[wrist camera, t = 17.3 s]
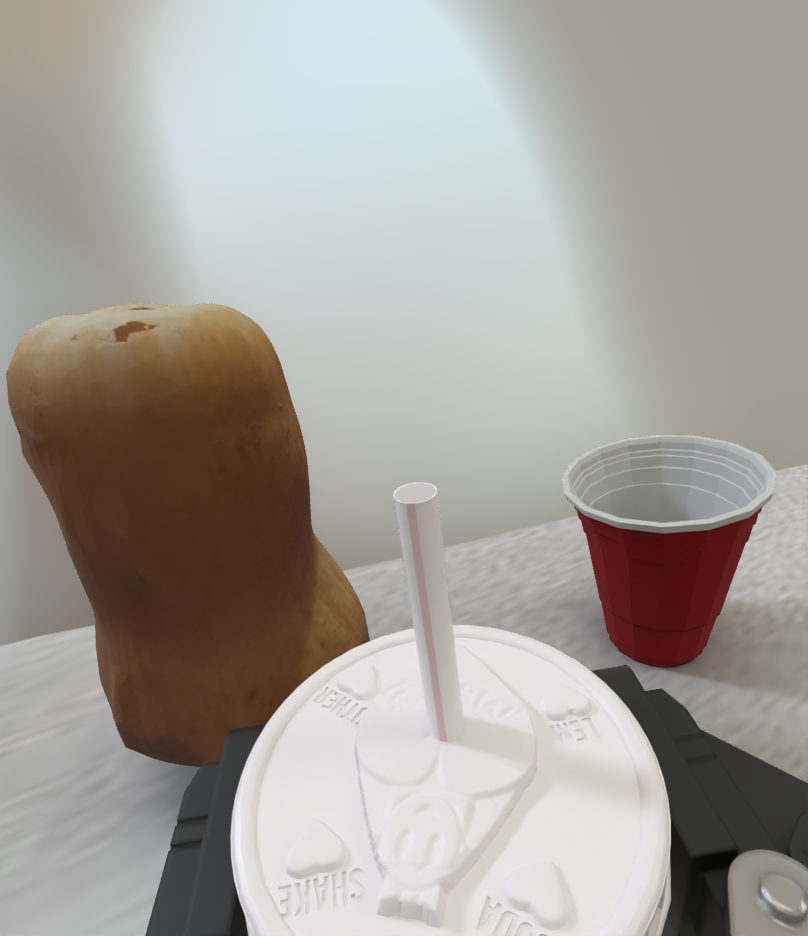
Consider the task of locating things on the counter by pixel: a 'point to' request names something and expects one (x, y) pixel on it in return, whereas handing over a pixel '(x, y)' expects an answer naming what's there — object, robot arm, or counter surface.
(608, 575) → the plastic cup
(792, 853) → the scale
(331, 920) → the smoothie
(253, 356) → the butternut squash
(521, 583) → the counter surface
